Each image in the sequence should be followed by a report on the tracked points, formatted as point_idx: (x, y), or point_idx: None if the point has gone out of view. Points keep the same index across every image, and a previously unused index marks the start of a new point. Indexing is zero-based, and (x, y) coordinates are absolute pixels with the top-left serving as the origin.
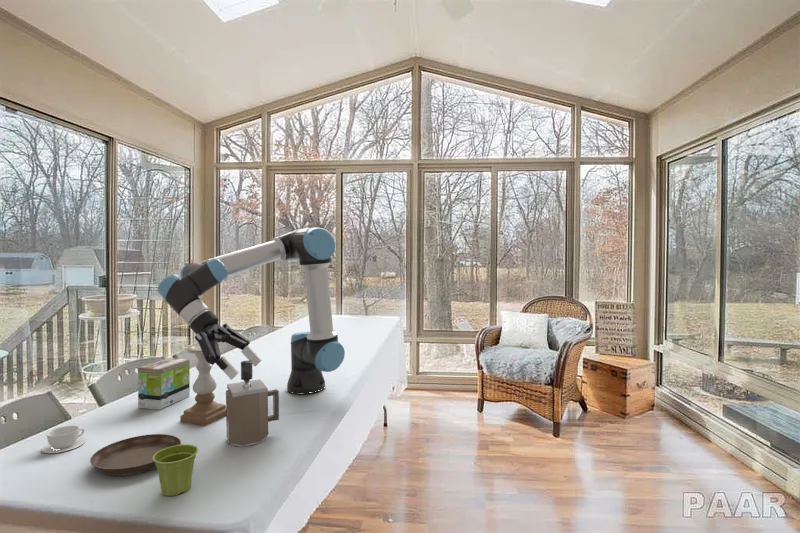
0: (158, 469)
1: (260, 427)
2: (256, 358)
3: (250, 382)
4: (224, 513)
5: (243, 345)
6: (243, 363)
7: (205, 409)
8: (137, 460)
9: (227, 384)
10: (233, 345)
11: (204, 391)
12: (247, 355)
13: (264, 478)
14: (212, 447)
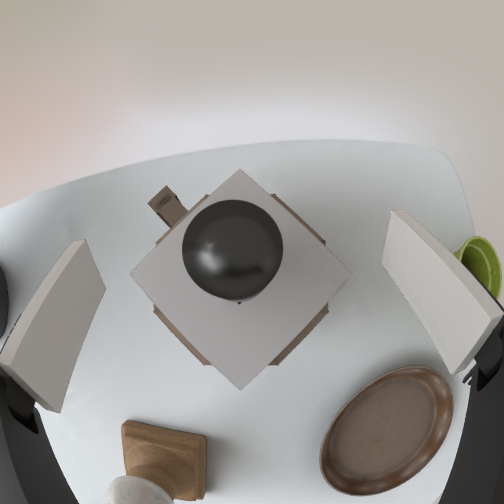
0: (486, 287)
1: None
2: (75, 268)
3: (184, 290)
4: (447, 178)
5: (8, 408)
6: (282, 246)
7: (178, 463)
8: (392, 428)
9: (244, 385)
10: (71, 494)
11: (164, 492)
12: (66, 349)
13: (375, 164)
14: (310, 342)
